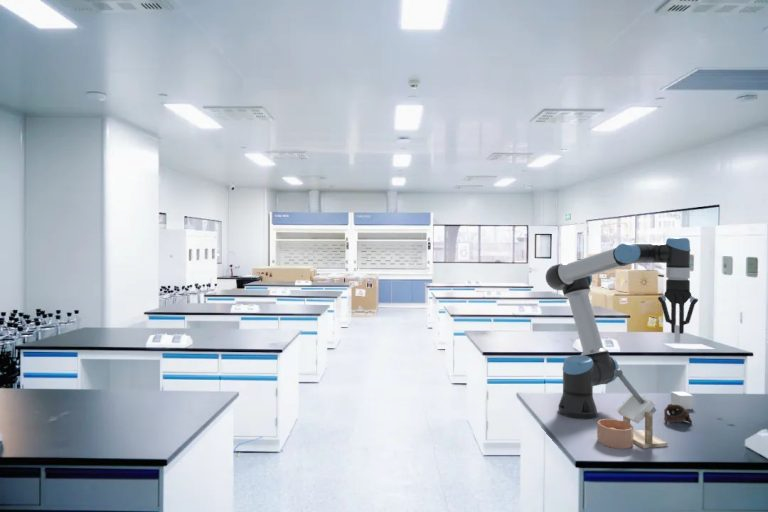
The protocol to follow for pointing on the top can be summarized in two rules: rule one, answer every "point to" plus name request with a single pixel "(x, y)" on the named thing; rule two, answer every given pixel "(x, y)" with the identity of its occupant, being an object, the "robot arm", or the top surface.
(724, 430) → the top surface
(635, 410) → the lever
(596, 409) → the robot arm
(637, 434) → the lever stand
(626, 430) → the terracotta round bowl
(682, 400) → the white cube
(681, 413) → the dark brown skull
